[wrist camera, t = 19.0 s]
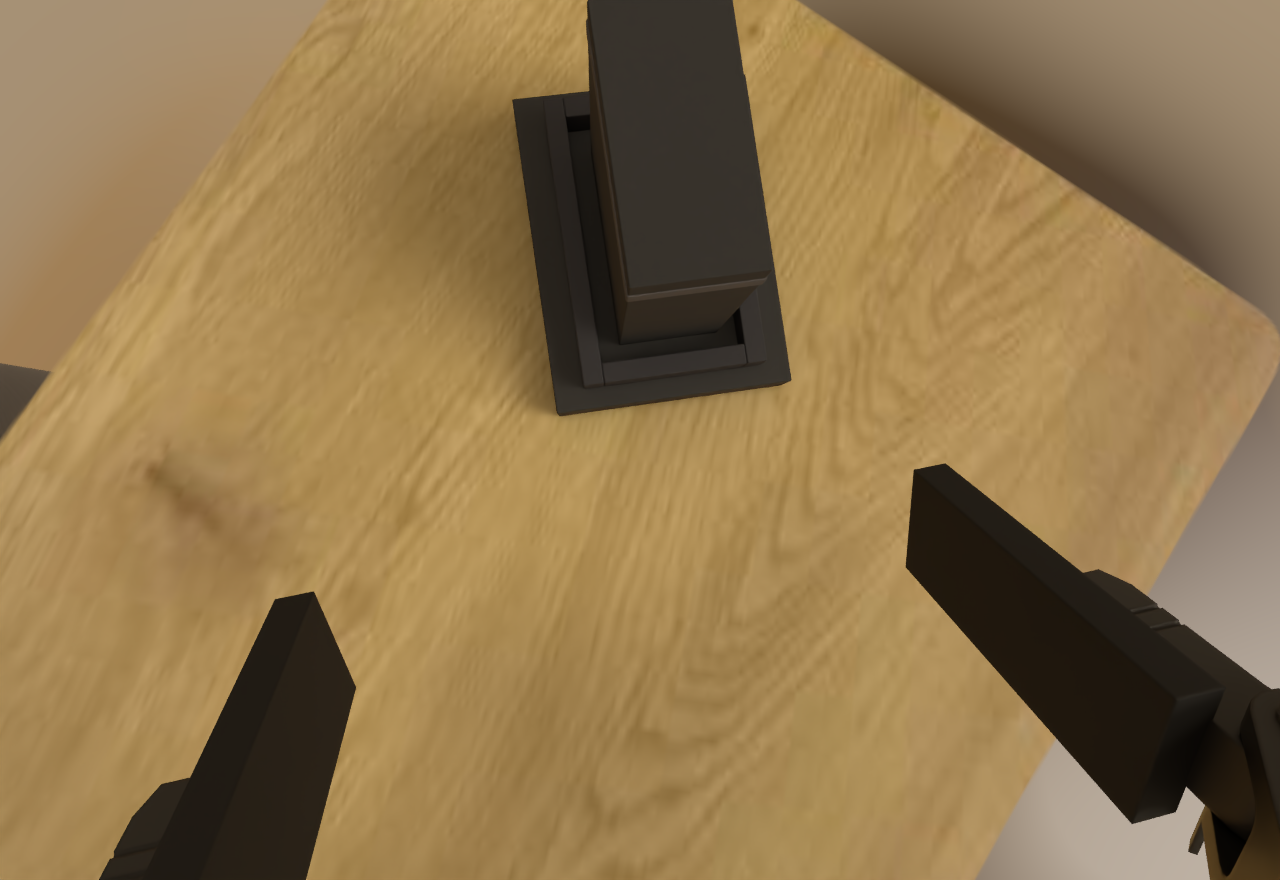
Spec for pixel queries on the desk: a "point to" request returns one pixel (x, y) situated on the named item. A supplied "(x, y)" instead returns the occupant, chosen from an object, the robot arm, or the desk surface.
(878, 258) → the desk surface
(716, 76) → the black block
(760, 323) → the base pad
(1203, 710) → the robot arm
